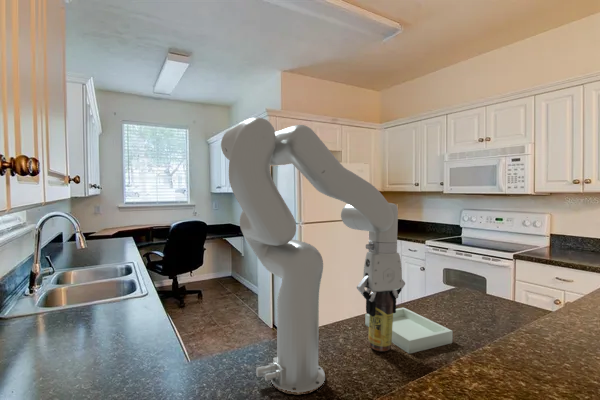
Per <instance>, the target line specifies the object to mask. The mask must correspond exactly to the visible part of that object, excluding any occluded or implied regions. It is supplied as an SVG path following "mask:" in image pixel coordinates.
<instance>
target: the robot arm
mask: <svg viewBox="0 0 600 400" xmlns="http://www.w3.org/2000/svg"><path fill="white" fill-rule="evenodd" d="M220 147H221V151H222V154H223V156H224V157H225V158H226V159H227V160H228V179H229V180H228V181H229V185H230V188H231V191H232V193H233V194H234V197H235V198H236V200H237V202H238V203H239V204H238V205H239V206H240V207H241V209H242V211H241V213H240V216H239V227H240V231H241V233H242V235H243V237H244V239H245V240H246V241H247V243H248V245H249V246H250V248H251V249H252V251H253V253H254V254H255V255H256V257H257V259H258V260H259V262H260V263H261V264H262V266H263V267H264V268H265V269H266V270H267V272H269V273H271V274H272V275H274V276H276V277H278V278H280V279H281V284H280V288H279V291H278V294H277V298H276V299H277V303H276V305H277V306H276V314H277V316H276V318H277V321H276V322H277V324H276V325H277V326H276V331H277V333H276V334H277V335H276V357H273V358H272V362H269V363H268V364H269V365H262V366H258V367H256V368H255V374H256V377H257V378H260V377H264V379H265V380H264V381H265V382H267V381H270V380H271V382H272V384H274V385H275V386H276V387H278V388H280V389H283V390H287V391H291V392H306V391H310V390H313V389H316V388H318V387H320V386H321V385H322V384H323V383H324V384H325V382H324V381H326V374H325V371H324V369H323V368H322V367H321V366H320V365H319V335H320V334H319V332H320V330H319V328H320V327H319V324H320V322H319V318H320V317H319V312H320V311H319V307H320V306H319V305H320V302H319V301H320V288H321V284H322V283H321V282H322V277H323V272H324V260H323V257H322V254H321V252H320V251H319V250H318V249H317V248H316V247H315V246H314V245H312V244H310V243H308V242H305V241H302V240H298V239H297V240H296V239H294V237H295V235H296V233H297V223H296V219H295V218H294V214H292V211H291V210H290V208H289V207H288V205H287V203H286V202H285V200H284V199H283V197H282V195H281V193H280V191H279V189H278V188H277V186H276V184H275V182H274V180H273V177H272V174H271V166H285V165H290V164H291V165H293V167H295V168H296V169H297V170H298V171H299V172H300V173H301V174H302V175H303V177H304V178H305V179H306V180H307V181H308V182H309V183H310V185H312V187H314V188H315V190H316V191H317V192H319V193H321V194H323V195H325V196H327V197H329V198H331V199H335V200H339V201H341V202H343V203H345V205H344V206H343V208H342V210H341V213H340V218H341V222H342V223H343V225H345V227H347V228H349V229H352V230H358V231H365V232H368V243H367V244H365V250H368V251H366V255H365V258H364V265H363V278H362V279H361V281H359V283H358V284H357V286H356V289H357V290H358V292H359V293H360V294H361V295H362V296H363V298H364V299H365V312H366V313H365V314H369V315H371V316H375V305H376V303H375V301H373V300H374V298H375V295H376V292H383V291H390V296H391V298H392V300H393V313H396V309H397V299H398V298H399V294H400V293H401V292H402V289H403V288H404V287H405V285H406V282H405V280H404V279H403V269H402V268H403V267H402V262H401V256H400V252H398V222H399V209H398V208H399V207H398V206H397V204H396V203H392V202H389V201H387V199H386V198H385V196H384V195H383V194H382V193H381V192H380V190H378V189H377V188H376V186H374V185H373V184H372V183H370V182H368V181H367V180H366V179H364V178H362V177H361V176H359V175H358V174H356V173H354V172H352V171H351V170H349V169H347V168H345V167H344V166H343V164H342V163H341V162H340V161H339V160H338V159H337V158H336V156H335V155H334V154H333V153H332V152H331V150H330V149H329V148H328V146H327V145H326V144H325V143H324V142H323V140H322V139H320V137H319V136H318V135H317V134H316V132H315V131H314V130H313V129H312V128H311V127H309V126H308V125H305V124H296V125H291V126H288V127H286V128H283V129H281V130H275V128H274V125H272V123H271V122H270V121H269V120H268V119H266V118H263V117H258V116H257V117H251V118H248V119H246V120H245V119H244V121H241V122H240V123H238V124H237V125H235V126H233V127H231V128H229V129H228V130H227V131H225V133H224V134H223V136H222V138H221V141H220ZM271 382H270V383H271ZM272 384H271V385H272ZM324 384H323V385H324ZM293 389H296V390H293Z"/></svg>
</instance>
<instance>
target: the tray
mask: <svg viewBox="0 0 600 400" xmlns="http://www.w3.org/2000/svg"><path fill="white" fill-rule="evenodd" d="M364 317H365V319H364V320H365V324H364V325H365V326H366V327H368V328H369V314H367V313H365V314H364ZM453 332H454V331H453V330H452V329H449V328H448V327H446V326H443V325H441V324H439V323H437V322H435V321H433V320H432V319H429V318H427V317H425V316H422V315H420V314H418V313H416V312H414V311H412V310H410V309H408V308H405V307H398V308H396V313H393V325H392V342H391V344H394V345H395V346H397V347H398V348H399V349H401V350H403V351H404V352H406V353H407V354H409V355H410V354H414V353H417V352H420V351H421V352H422V351H426V350H429V349H434V348H437V347H441V346H445V345H450V344H452V343H453V339H454V338H453Z"/></svg>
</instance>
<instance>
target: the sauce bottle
mask: <svg viewBox="0 0 600 400" xmlns="http://www.w3.org/2000/svg"><path fill="white" fill-rule="evenodd" d="M373 301H375V303H376V305H375V316H371V315H369V327H368V336H367V338H368V345H369V348H371V349H372V350H375V351H377V352H387V351H389V350H390V349H391V348H392V325H393V300H392V298H391V296H390V291H383V292H376V295H375V298H374V300H373Z"/></svg>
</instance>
